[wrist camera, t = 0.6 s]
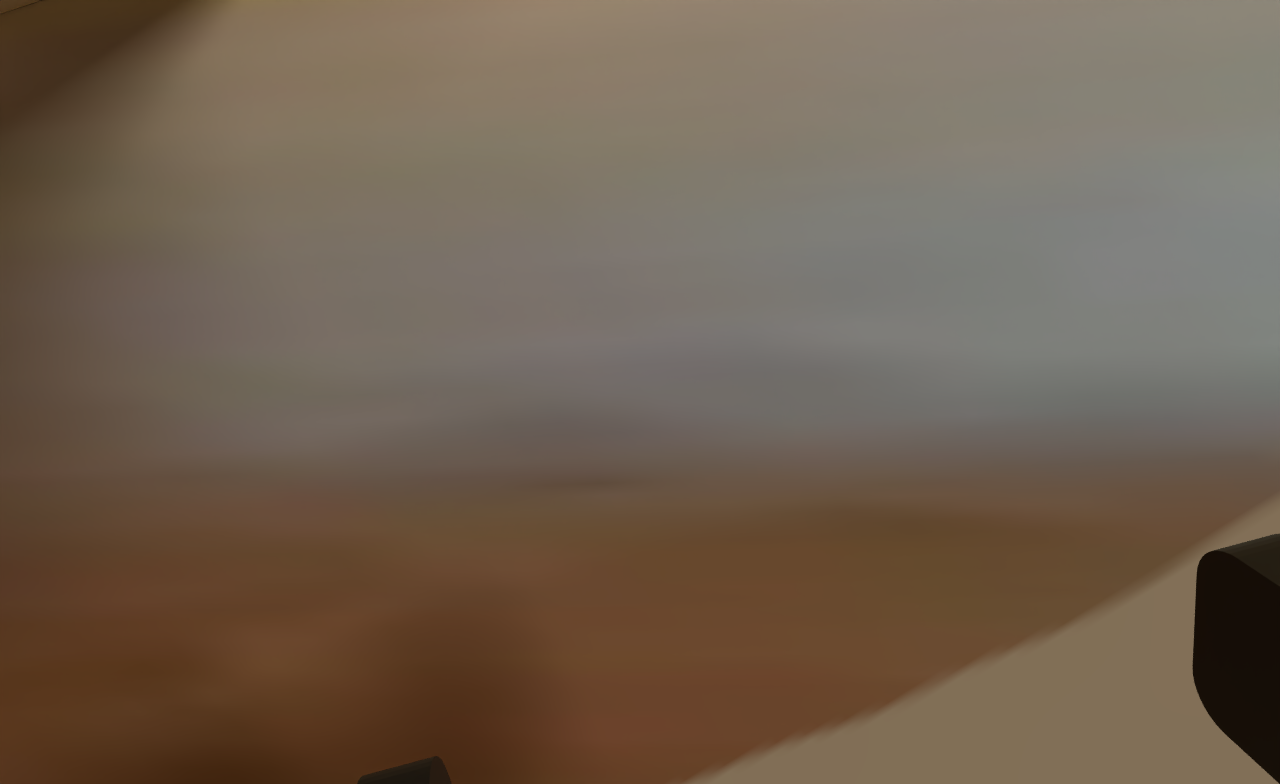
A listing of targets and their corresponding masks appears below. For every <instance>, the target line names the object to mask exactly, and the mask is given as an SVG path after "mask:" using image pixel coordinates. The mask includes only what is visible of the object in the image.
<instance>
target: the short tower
mask: <svg viewBox="0 0 1280 784" xmlns="http://www.w3.org/2000/svg"><path fill="white" fill-rule="evenodd" d="M37 1H40V0H0V14H1V13H4V12H7V11H10V10H13V9H16V8H19V7H22V6H25V5H28V4H31V3H34V2H37Z"/></svg>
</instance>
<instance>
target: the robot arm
mask: <svg viewBox="0 0 1280 784" xmlns="http://www.w3.org/2000/svg"><path fill="white" fill-rule="evenodd" d="M1194 626H1195V627H1194V648H1193V677H1194V682H1195V686H1196V689H1197V692H1198V694H1199V697H1200V699H1201V701H1202V703H1203V705H1204V707H1205V709H1206V710H1207V712H1208V714H1209V715H1210V717H1211V718H1212V719H1213V721H1214V722H1215V723H1216V725H1217V726H1218V727H1219V728H1220V729H1221V730H1222V731H1223V732H1224V733H1225V734H1226V735H1227V736H1228V737H1229V738H1230V739H1231V740H1232V741H1233V742H1234V743H1236V744H1237V745H1238V746H1239V747H1240V748H1241V749H1242V750H1243V751H1244V752H1245V753H1247V754H1248V755H1249V756H1250V757H1251V758H1252V759H1253V760H1254V761H1255V762H1256V763H1257V764H1259V765H1260V766H1261V767H1262V768H1263V769H1264V770H1265V771H1266V772H1267V773H1269V775H1271V776H1272V777H1273V778H1274V779H1275V780H1276V781H1277V782H1278V783H1279V784H1280V534H1274V535H1270V536H1266V537H1262V538H1259V539H1255V540H1251V541H1247V542H1244V543H1240V544H1236V545H1232V546H1229V547H1225V548H1221V549H1218V550H1214V551H1211V552H1208V553H1206V554H1205V555H1204V556H1203V557H1202V558H1201V560H1200V562H1199V565H1198V568H1197V580H1196V604H1195V625H1194ZM357 784H451V781H450V778H449V775H448V773H447V770H446V768H445V765H444V764H443V762H442V760H441V759H440V758H439V757H437V756H435V757H431V758H427V759H424V760H420V761H416V762H413V763H409V764H405V765H401V766H398V767H394V768H390V769H386V770H383V771H379V772H375V773H371V774H368V775H364V776H362V777H361V778H360V779H359V781H358V783H357Z"/></svg>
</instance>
